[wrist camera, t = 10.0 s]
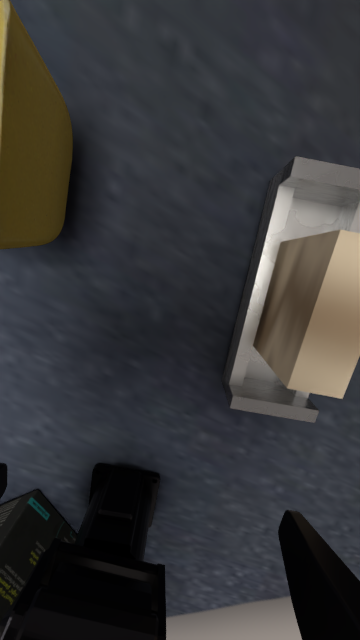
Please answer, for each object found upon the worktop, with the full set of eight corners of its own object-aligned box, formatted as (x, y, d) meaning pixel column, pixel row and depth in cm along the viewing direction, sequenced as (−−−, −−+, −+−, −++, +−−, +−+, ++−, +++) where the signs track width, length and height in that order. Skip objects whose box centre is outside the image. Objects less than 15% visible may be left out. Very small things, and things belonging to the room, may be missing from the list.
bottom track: (290, 392, 21) (314, 422, 17) (221, 380, 21) (229, 408, 17) (354, 196, 17) (404, 177, 13) (270, 180, 17) (295, 156, 13)
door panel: (288, 350, 19) (345, 399, 13) (251, 343, 19) (287, 388, 12) (321, 250, 17) (408, 243, 11) (279, 242, 17) (340, 229, 11)
